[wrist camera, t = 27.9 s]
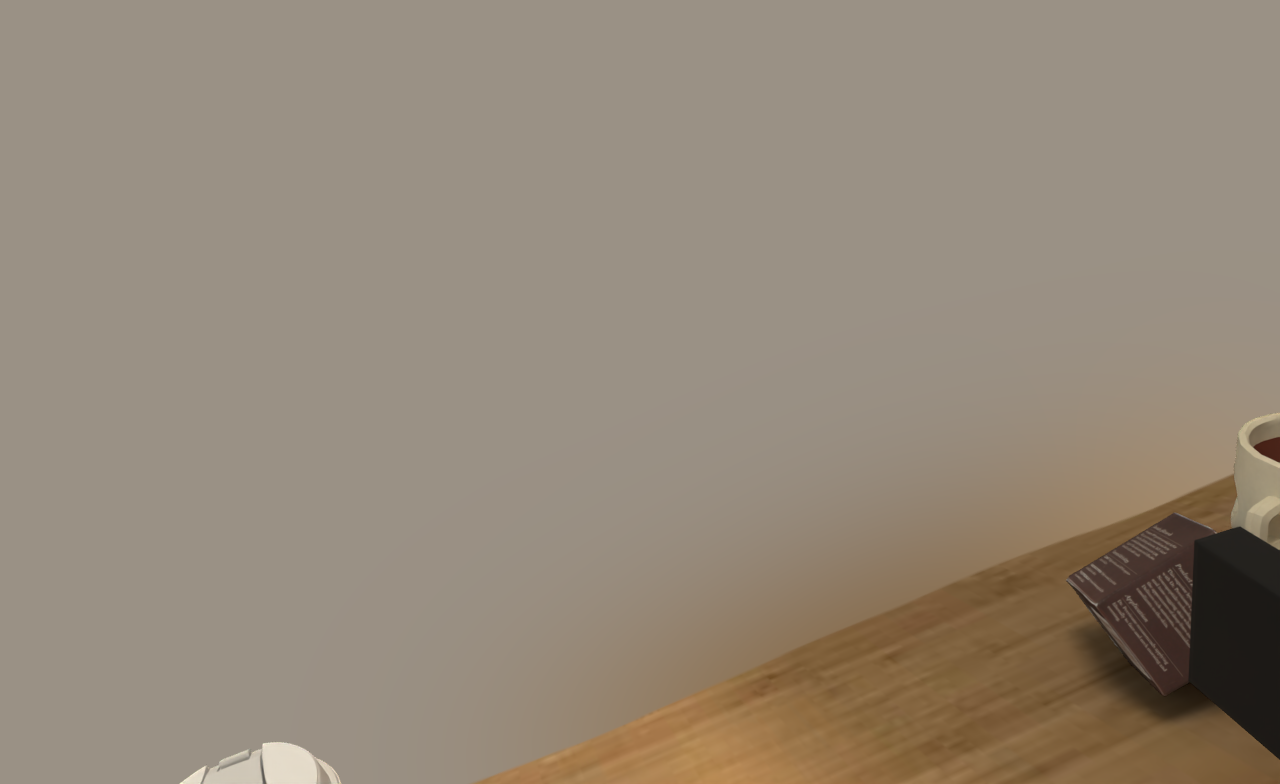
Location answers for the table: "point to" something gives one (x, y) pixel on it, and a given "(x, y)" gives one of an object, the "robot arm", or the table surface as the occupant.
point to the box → (1147, 598)
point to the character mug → (1258, 479)
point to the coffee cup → (268, 768)
